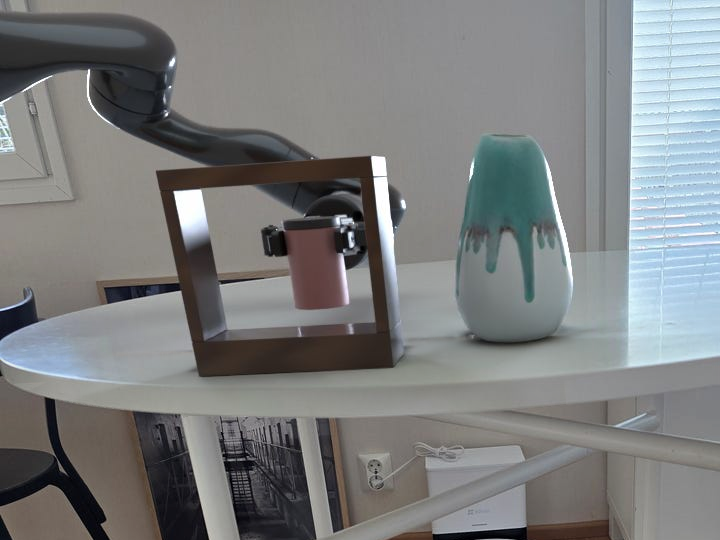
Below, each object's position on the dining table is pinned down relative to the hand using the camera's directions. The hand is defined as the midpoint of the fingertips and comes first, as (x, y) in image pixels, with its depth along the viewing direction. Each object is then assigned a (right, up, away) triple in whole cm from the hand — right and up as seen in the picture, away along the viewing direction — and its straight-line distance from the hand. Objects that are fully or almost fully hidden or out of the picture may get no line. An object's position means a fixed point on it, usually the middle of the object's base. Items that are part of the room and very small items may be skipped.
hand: (307, 243), depth 82 cm
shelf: (0, -12, -2) cm, 13 cm away
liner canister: (0, -4, +5) cm, 7 cm away
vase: (+20, -8, +4) cm, 22 cm away
